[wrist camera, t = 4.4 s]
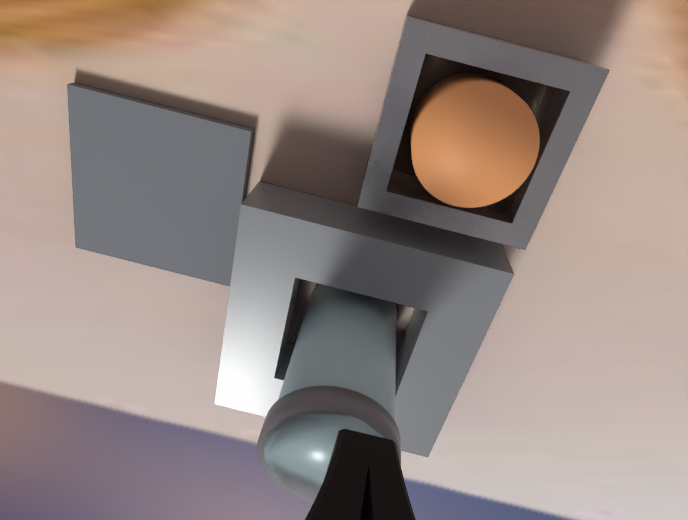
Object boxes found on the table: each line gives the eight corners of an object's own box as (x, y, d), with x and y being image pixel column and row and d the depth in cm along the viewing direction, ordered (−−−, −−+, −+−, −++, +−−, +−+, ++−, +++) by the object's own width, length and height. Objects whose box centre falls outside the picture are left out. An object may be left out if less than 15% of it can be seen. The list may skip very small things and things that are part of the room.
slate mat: (80, 243, 22) (75, 247, 21) (73, 82, 18) (66, 84, 18) (233, 282, 22) (230, 286, 21) (253, 129, 18) (251, 131, 18)
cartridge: (296, 337, 23) (248, 486, 16) (314, 258, 21) (268, 389, 14) (386, 360, 23) (379, 519, 16) (413, 283, 21) (419, 427, 14)
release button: (397, 168, 18) (396, 191, 16) (429, 60, 16) (433, 69, 14) (497, 193, 18) (510, 220, 16) (540, 89, 16) (561, 102, 14)
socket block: (231, 367, 24) (214, 403, 22) (259, 181, 19) (241, 204, 17) (425, 416, 24) (428, 457, 22) (501, 243, 19) (513, 274, 17)
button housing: (362, 183, 19) (357, 206, 17) (406, 15, 16) (406, 16, 14) (511, 221, 19) (525, 249, 17) (581, 60, 16) (609, 69, 14)
